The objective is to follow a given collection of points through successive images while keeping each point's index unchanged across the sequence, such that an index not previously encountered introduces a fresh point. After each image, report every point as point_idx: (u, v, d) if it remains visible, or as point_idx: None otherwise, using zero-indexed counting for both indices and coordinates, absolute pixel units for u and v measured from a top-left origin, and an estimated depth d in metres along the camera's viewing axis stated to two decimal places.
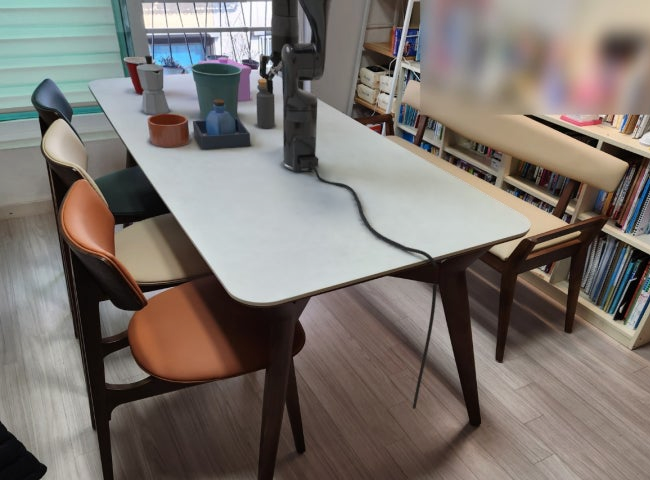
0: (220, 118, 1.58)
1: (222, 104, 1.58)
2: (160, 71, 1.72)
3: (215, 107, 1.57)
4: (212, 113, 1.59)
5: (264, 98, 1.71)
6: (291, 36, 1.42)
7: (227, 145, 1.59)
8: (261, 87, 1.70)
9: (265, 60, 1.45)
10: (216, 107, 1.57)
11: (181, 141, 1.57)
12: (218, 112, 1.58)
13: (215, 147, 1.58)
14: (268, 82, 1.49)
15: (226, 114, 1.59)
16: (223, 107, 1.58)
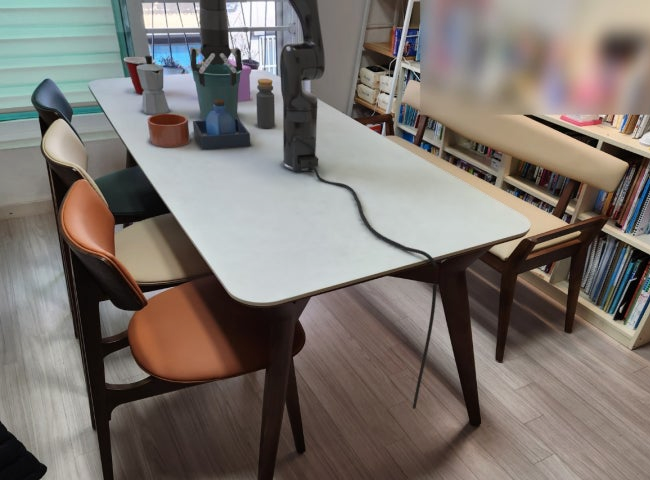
0: (220, 118, 1.58)
1: (222, 104, 1.58)
2: (160, 71, 1.72)
3: (215, 107, 1.57)
4: (212, 113, 1.59)
5: (264, 98, 1.71)
6: (219, 29, 1.44)
7: (227, 145, 1.59)
8: (261, 87, 1.70)
9: (195, 53, 1.47)
10: (216, 107, 1.57)
11: (181, 141, 1.57)
12: (218, 112, 1.58)
13: (215, 147, 1.58)
14: (199, 75, 1.51)
15: (226, 114, 1.59)
16: (223, 107, 1.58)
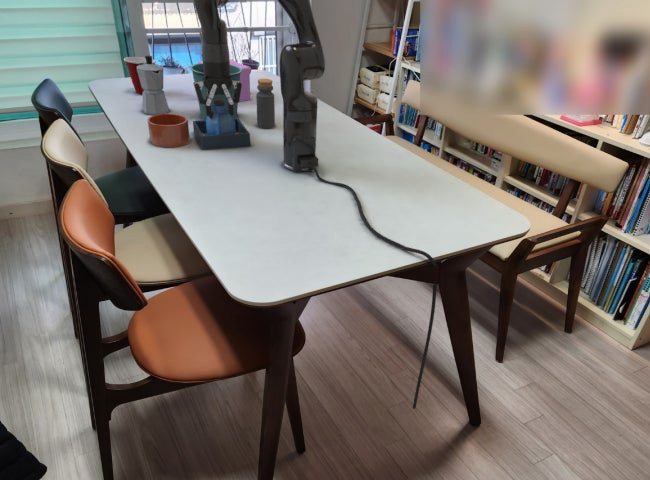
0: (220, 118, 1.58)
1: (222, 104, 1.58)
2: (160, 71, 1.72)
3: (215, 107, 1.57)
4: (212, 113, 1.59)
5: (264, 98, 1.71)
6: (221, 62, 1.49)
7: (227, 145, 1.59)
8: (261, 87, 1.70)
9: (198, 87, 1.52)
10: (216, 107, 1.57)
11: (181, 141, 1.57)
12: (218, 112, 1.58)
13: (215, 147, 1.58)
14: (206, 107, 1.57)
15: (226, 114, 1.59)
16: (223, 107, 1.58)
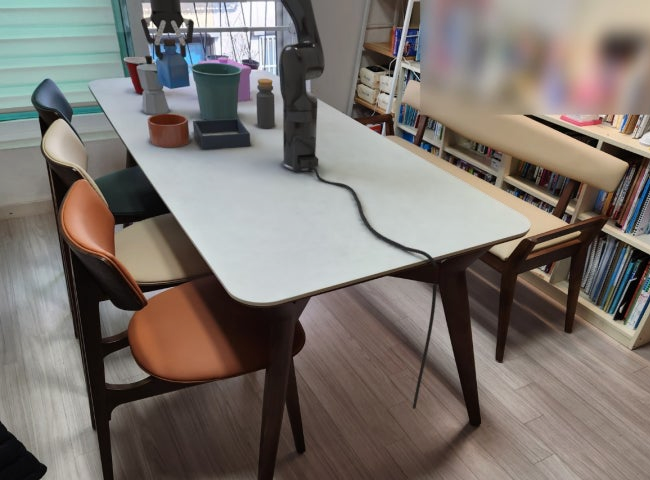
0: (170, 59, 1.45)
1: (173, 44, 1.45)
2: None
3: (165, 47, 1.45)
4: (162, 54, 1.46)
5: (264, 98, 1.71)
6: None
7: (227, 145, 1.59)
8: (261, 87, 1.70)
9: (145, 23, 1.40)
10: (165, 46, 1.45)
11: (181, 141, 1.57)
12: (168, 53, 1.46)
13: (215, 147, 1.58)
14: (155, 47, 1.44)
15: (177, 55, 1.47)
16: (174, 47, 1.46)
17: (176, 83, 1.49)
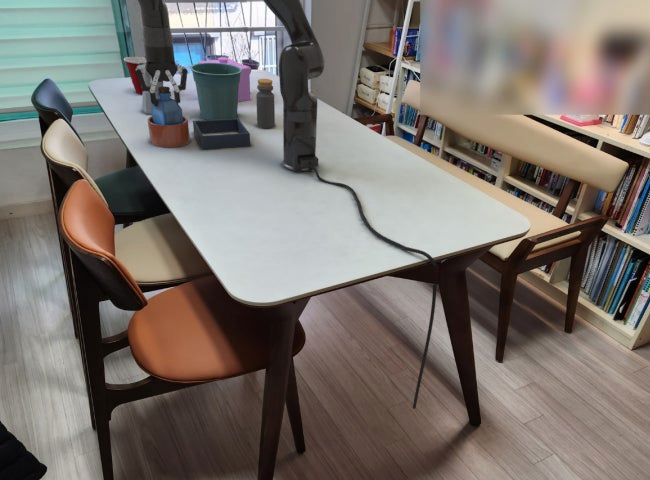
0: (165, 106, 1.51)
1: (167, 91, 1.51)
2: None
3: (160, 94, 1.51)
4: (157, 101, 1.52)
5: (264, 98, 1.71)
6: (162, 47, 1.42)
7: (227, 145, 1.59)
8: (261, 87, 1.70)
9: (140, 73, 1.46)
10: (160, 94, 1.51)
11: (181, 141, 1.57)
12: (163, 100, 1.52)
13: (215, 147, 1.58)
14: (151, 94, 1.50)
15: (172, 102, 1.53)
16: (168, 94, 1.51)
17: None
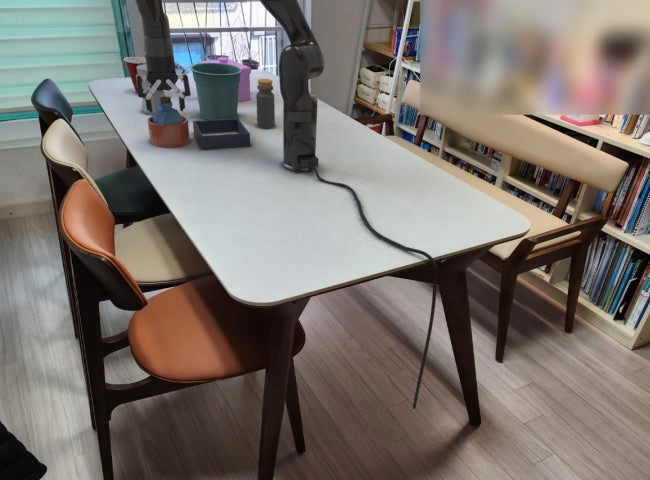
0: (166, 115, 1.53)
1: (168, 101, 1.53)
2: None
3: (161, 104, 1.52)
4: (158, 110, 1.54)
5: (264, 98, 1.71)
6: (163, 56, 1.44)
7: (227, 145, 1.59)
8: (261, 87, 1.70)
9: (140, 80, 1.46)
10: (162, 104, 1.52)
11: (181, 141, 1.57)
12: (164, 109, 1.53)
13: (215, 147, 1.58)
14: (146, 101, 1.51)
15: (173, 112, 1.54)
16: (169, 104, 1.53)
17: None
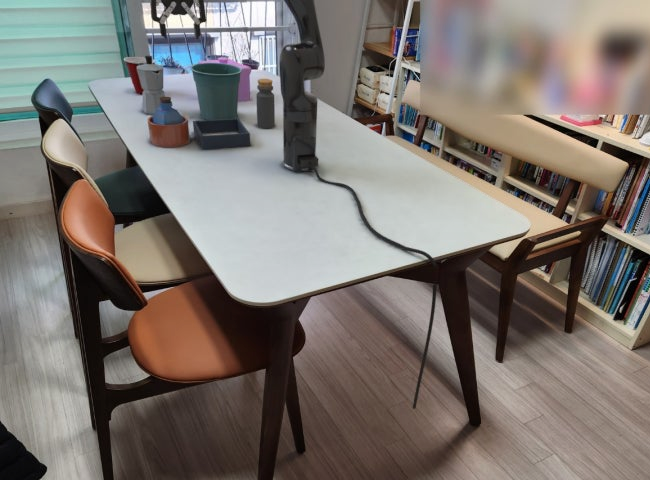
0: (166, 115, 1.53)
1: (168, 101, 1.53)
2: (160, 71, 1.72)
3: (161, 104, 1.52)
4: (158, 110, 1.54)
5: (264, 98, 1.71)
6: None
7: (227, 145, 1.59)
8: (261, 87, 1.70)
9: (154, 1, 1.40)
10: (162, 104, 1.52)
11: (181, 141, 1.57)
12: (164, 109, 1.53)
13: (215, 147, 1.58)
14: (161, 26, 1.44)
15: (173, 112, 1.54)
16: (169, 104, 1.53)
17: None
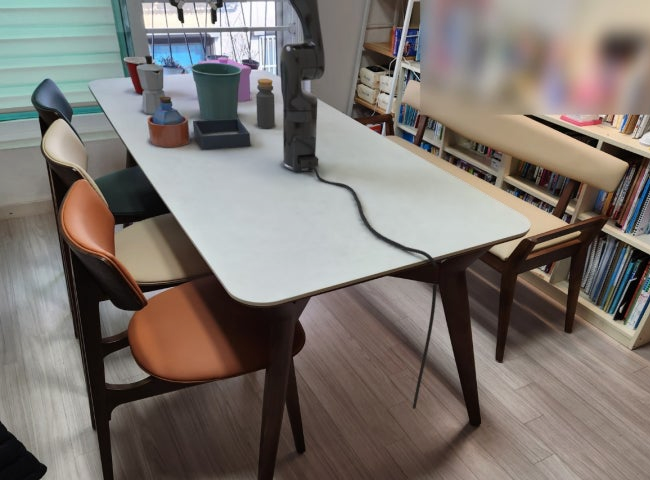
0: (166, 115, 1.53)
1: (168, 101, 1.53)
2: (160, 71, 1.72)
3: (161, 104, 1.52)
4: (158, 110, 1.54)
5: (264, 98, 1.71)
6: None
7: (227, 145, 1.59)
8: (261, 87, 1.70)
9: None
10: (162, 104, 1.52)
11: (181, 141, 1.57)
12: (164, 109, 1.53)
13: (215, 147, 1.58)
14: (178, 10, 1.46)
15: (173, 112, 1.54)
16: (169, 104, 1.53)
17: None
